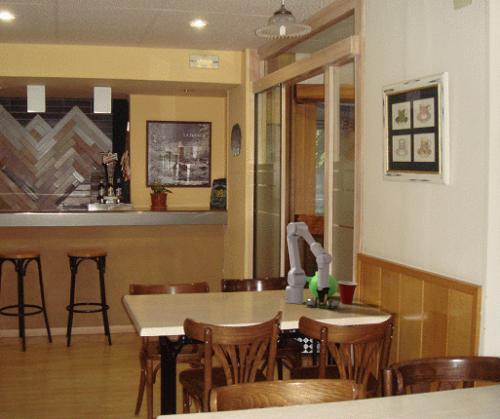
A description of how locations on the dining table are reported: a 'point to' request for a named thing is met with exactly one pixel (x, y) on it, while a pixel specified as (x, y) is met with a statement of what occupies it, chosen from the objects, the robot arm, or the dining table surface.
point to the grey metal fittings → (331, 303)
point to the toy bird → (314, 285)
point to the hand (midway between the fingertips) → (322, 301)
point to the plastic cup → (347, 291)
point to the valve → (324, 302)
